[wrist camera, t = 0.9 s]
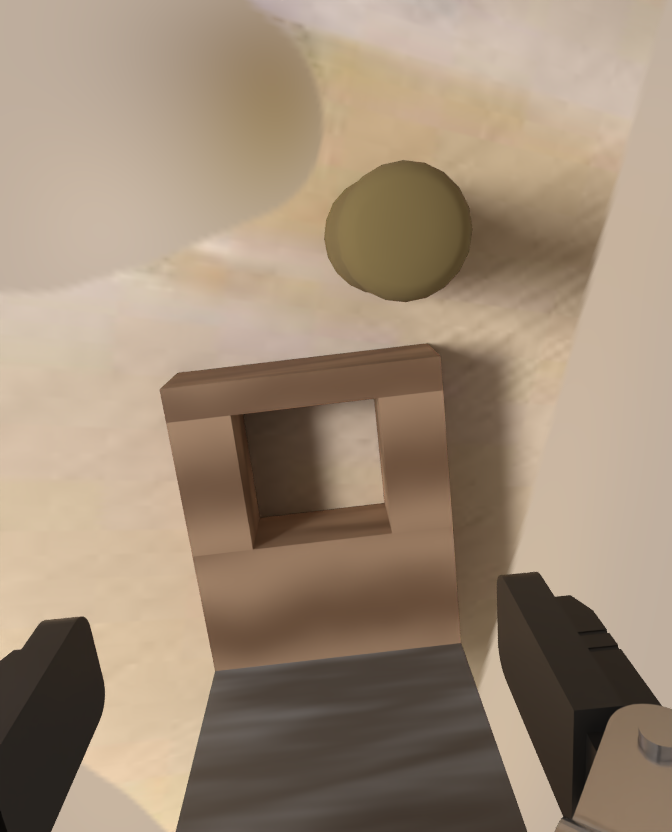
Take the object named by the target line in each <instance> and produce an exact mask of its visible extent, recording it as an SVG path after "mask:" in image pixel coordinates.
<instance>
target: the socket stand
mask: <svg viewBox="0 0 672 832" xmlns="http://www.w3.org/2000/svg"><path fill="white" fill-rule="evenodd" d="M160 394H161V399H162V404H163V409H164V414H165V419H166V424H167V429H168V434H169V440H170V445H171V450H172V455H173V460H174V465H175V470H176V475H177V480H178V485H179V490H180V495H181V500H182V505H183V510H184V515H185V521H186V526H187V531H188V536H189V541H190V546H191V551H192V556H193V561H194V566H195V571H196V576H197V581H198V586H199V591H200V596H201V602H202V607H203V612H204V617H205V622H206V627H207V632H208V637H209V642H210V647H211V652H212V657H213V662H214V667H215V674H214V678H213V682H212V686H211V691H210V695H209V699H208V703H207V707H206V711H205V715H204V719H203V723H202V727H201V731H200V735H199V739H198V743H197V747H196V752H195V756H194V760H193V764H192V768H191V772H190V776H189V780H188V784H187V788H186V792H185V796H184V800H183V804H182V808H181V813H180V817H179V821H178V825H177V829H176V832H527V830H526V827H525V824H524V821H523V818H522V816H521V813H520V810H519V807H518V804H517V801H516V798H515V795H514V793H513V790H512V787H511V784H510V781H509V778H508V776H507V773H506V770H505V767H504V764H503V761H502V758H501V756H500V753H499V750H498V747H497V744H496V741H495V739H494V736H493V733H492V730H491V727H490V724H489V721H488V719H487V716H486V713H485V710H484V707H483V704H482V701H481V699H480V696H479V693H478V690H477V687H476V684H475V681H474V679H473V676H472V673H471V670H470V667H469V664H468V661H467V659H466V656H465V653H464V650H463V647H462V644H461V636H460V622H459V607H458V593H457V579H456V565H455V551H454V537H453V522H452V508H451V494H450V480H449V466H448V452H447V438H446V423H445V409H444V395H443V381H442V367H441V356H440V355H439V354H438V353H437V352H436V351H435V350H434V349H433V348H432V347H431V346H430V345H428V344H418V345H410V346H402V347H393V348H385V349H376V350H368V351H359V352H351V353H343V354H334V355H326V356H317V357H309V358H300V359H292V360H284V361H275V362H267V363H258V364H250V365H241V366H233V367H224V368H216V369H208V370H199V371H191V372H182V373H177V374H176V375H175V376H174V377H173V378H172V379H170V380H169V381H168V382H167V383H166V384H165V385H164V386H163V387H162V388H161V389H160ZM366 399H374V402H375V412H376V422H377V432H378V442H379V451H380V461H381V471H382V481H383V491H384V501H385V503H382V504H374V505H365V506H356V507H348V508H339V509H331V510H322V511H314V512H305V513H296V514H288V515H279V516H271V517H262V518H260V515H259V509H258V503H257V497H256V491H255V484H254V478H253V472H252V466H251V460H250V454H249V447H248V441H247V435H246V429H245V423H244V417H243V414H247V413H256V412H264V411H273V410H281V409H290V408H298V407H307V406H315V405H324V404H332V403H341V402H349V401H358V400H366Z"/></svg>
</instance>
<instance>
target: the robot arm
mask: <svg viewBox="0 0 672 832" xmlns="http://www.w3.org/2000/svg"><path fill="white" fill-rule="evenodd" d="M497 615H498V648H499V655H500V661H501V665H502V669H503V673H504V676H505V679H506V681H507V684H508V686H509V688H510V691H511V693H512V695H513V698H514V700H515V703H516V705H517V707H518V710H519V712H520V715H521V717H522V719H523V722H524V724H525V726H526V729H527V731H528V734H529V736H530V738H531V741H532V743H533V746H534V748H535V750H536V753H537V755H538V757H539V760H540V762H541V765H542V767H543V769H544V772H545V774H546V776H547V779H548V781H549V784H550V786H551V788H552V791H553V793H554V796H555V798H556V800H557V803H558V805H559V807H560V810H561V812H562V814H563V818H562V819H561V820H560V821H559V823H558V825H557V827H556V830H555V832H672V709H670V708H667V707H663V706H662V705H661V704H660V703H659V701H658V700H657V698H656V697H655V696H654V695H653V693H652V692H651V690H650V689H649V687H648V686H647V685H646V683H645V682H644V680H643V679H642V678H641V677H640V675H639V674H638V672H637V671H636V669H635V668H634V667H633V665H632V664H631V662H630V661H629V660H628V658H627V657H626V656H625V654H624V653H623V651H622V650H621V649H619V648H618V644H617V643H616V642H615V640H614V639H613V637H612V636H611V635H610V633H607V629H606V628H605V626H604V625H603V624H602V622H601V621H600V619H598V617H597V615H596V614H595V613H594V611H593V610H591V609H590V608H589V607H587V606H586V605H584V604H583V603H581V602H580V601H578V600H577V599H575V598H574V597H572V596H570V595H568V596H559V597H555V596H554V595H553V593H552V592H551V590H550V589H549V587H548V586H547V584H546V583H545V581H544V579H543V578H542V576H541V575H540V574H539V573H538V572H530V573H520V574H510V575H500V576H499V577H498V580H497ZM104 700H105V687H104V680H103V676H102V672H101V668H100V664H99V660H98V656H97V652H96V648H95V644H94V640H93V636H92V632H91V628H90V625H89V622H88V620H87V619H86V618H85V617H72V618H63V619H53V620H44V621H42V622H41V623H40V624H39V625H38V626H37V628H36V629H35V631H34V632H33V634H32V635H31V636H30V638H29V639H28V641H27V642H26V644H25V645H24V647H23V648H22V649H21V650H13V651H12V652H11V653H10V654H8V655H7V656H6V657H5V658H3V659H2V660H1V661H0V832H51V831H52V828H53V826H54V824H55V821H56V819H57V817H58V815H59V812H60V810H61V808H62V805H63V803H64V801H65V799H66V796H67V794H68V792H69V789H70V787H71V785H72V783H73V780H74V778H75V776H76V773H77V771H78V769H79V767H80V764H81V762H82V760H83V757H84V755H85V753H86V751H87V748H88V746H89V744H90V741H91V739H92V737H93V735H94V732H95V730H96V728H97V725H98V723H99V721H100V718H101V716H102V712H103V708H104Z"/></svg>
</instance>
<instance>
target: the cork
mask: <svg viewBox="0 0 672 832" xmlns="http://www.w3.org/2000/svg"><path fill="white" fill-rule="evenodd" d="M471 235H472V224H471V217H470V210H469V206H468V204H467V202H466V200H465V198H464V196H463V194H462V192H461V190H460V188H459V187H458V186H457V185H456V184H455V183H454V182H453V181H452V180H451V179H450V178H449V177H448V176H447V175H446V174H445V173H444V172H442V171H440V170H438V169H436V168H434V167H432V166H430V165H428V164H426V163H422V162H413V161H405V160H402V161H398V162H393V163H389V164H384V165H381V166H379V167H378V168H376V169H374V170H373V171H371V172H369V173H368V174H366V175H364V176H363V177H362V178H361V179H360V180H359V181H358V182H356V183H354V184H353V185H351V186H350V187H348V188H346V189H345V190H344V191H343V192H342V194H341V195H340V196H339V197H338V198H337V200H336V201H335V202H334V203H333V205H332V208H331V210H330V212H329V215H328V217H327V220H326V227H325V237H324V240H325V245H326V250H327V254H328V258H329V260H330V261H331V263H332V265H333V267H334V269H335V270H336V272H337V273H338V274H339V275H340V276H341V277H342V278H343V279H344V280H345V281H346V282H347V283H348V284H350V285H351V286H354V287H356V288H358V289H360V290H362V291H365V292H369V293H372V294H374V295H376V296H378V297H380V298H383V299H385V300H392V301H401V302H408V301H413V300H418V299H422V298H427V297H428V296H430V295H432V294H433V293H435V292H437V291H439V290H440V289H442V288H444V287H445V286H446V285H447V284H448V283H449V282H450V281H451V280H452V279H453V278H454V276H455V275H456V274H457V273H458V272H459V271H460V269H461V267H462V265H463V263H464V261H465V258H466V256H467V254H468V252H469V248H470V241H471Z"/></svg>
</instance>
